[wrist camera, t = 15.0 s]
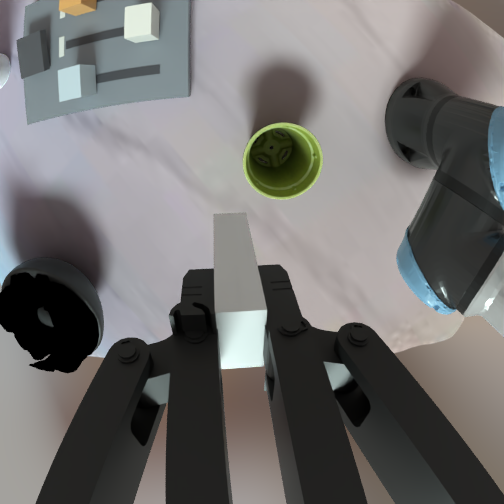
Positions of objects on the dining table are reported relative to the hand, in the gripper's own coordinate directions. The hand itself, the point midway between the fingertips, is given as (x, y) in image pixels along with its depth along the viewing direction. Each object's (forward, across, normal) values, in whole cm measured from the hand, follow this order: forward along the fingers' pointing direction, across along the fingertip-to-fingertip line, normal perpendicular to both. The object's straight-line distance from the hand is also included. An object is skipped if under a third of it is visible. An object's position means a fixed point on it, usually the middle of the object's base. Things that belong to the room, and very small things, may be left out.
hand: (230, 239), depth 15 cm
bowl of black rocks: (+30, +30, +24) cm, 49 cm away
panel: (+29, +16, -15) cm, 37 cm away
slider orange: (+26, +17, -21) cm, 38 cm away
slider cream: (+26, +9, -16) cm, 32 cm away
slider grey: (+26, +17, -10) cm, 33 cm away
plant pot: (+30, -7, +2) cm, 30 cm away
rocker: (+25, +25, -16) cm, 38 cm away
